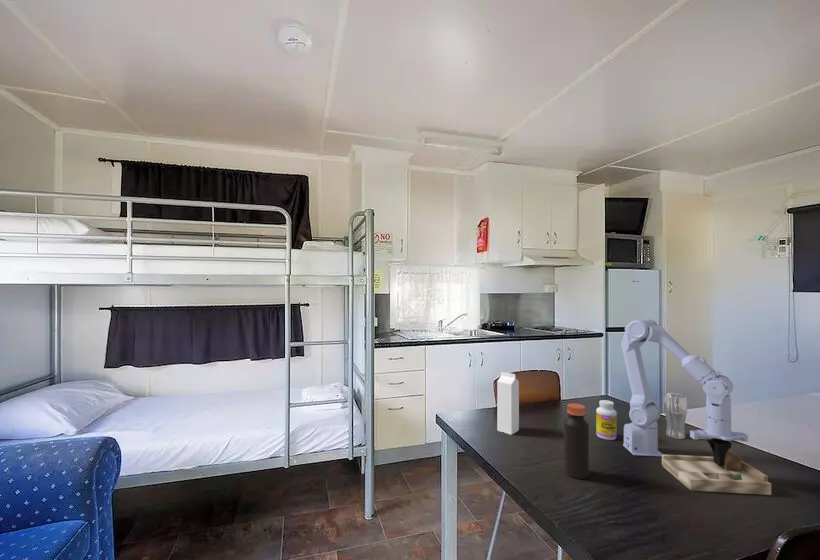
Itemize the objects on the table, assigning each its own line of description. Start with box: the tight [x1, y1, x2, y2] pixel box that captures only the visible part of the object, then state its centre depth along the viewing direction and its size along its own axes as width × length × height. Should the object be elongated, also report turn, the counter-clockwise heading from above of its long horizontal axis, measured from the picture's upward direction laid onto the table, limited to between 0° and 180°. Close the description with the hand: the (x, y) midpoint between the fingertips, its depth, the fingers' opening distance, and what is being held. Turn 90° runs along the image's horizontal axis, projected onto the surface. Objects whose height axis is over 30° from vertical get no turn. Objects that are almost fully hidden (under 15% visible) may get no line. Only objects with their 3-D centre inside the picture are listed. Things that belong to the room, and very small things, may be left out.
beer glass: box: [663, 392, 688, 440], centre depth 139 cm, size 7×7×15 cm
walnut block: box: [721, 450, 743, 471], centre depth 110 cm, size 4×4×4 cm
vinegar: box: [563, 402, 590, 480], centre depth 111 cm, size 7×7×20 cm
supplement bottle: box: [595, 399, 618, 441], centre depth 138 cm, size 7×7×13 cm
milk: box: [496, 371, 520, 436], centre depth 143 cm, size 6×6×22 cm
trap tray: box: [661, 453, 772, 496], centre depth 108 cm, size 20×14×4 cm
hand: (718, 464), depth 110 cm, fingers closed, pressing on walnut block
